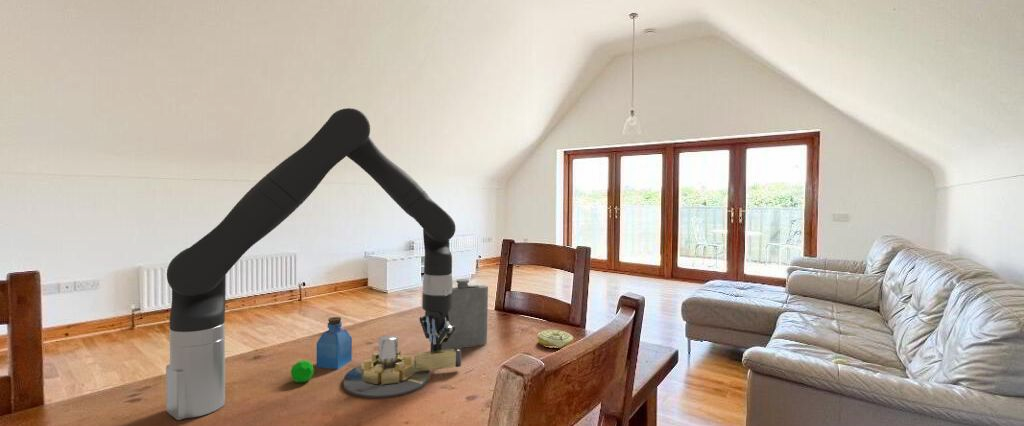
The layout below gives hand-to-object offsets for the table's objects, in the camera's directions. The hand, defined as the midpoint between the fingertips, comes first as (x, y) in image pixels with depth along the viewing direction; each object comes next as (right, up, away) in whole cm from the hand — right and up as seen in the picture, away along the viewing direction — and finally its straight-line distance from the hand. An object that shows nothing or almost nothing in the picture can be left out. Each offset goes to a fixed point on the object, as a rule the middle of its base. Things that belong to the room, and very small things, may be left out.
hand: (435, 356), depth 115 cm
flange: (-10, -3, -7) cm, 13 cm away
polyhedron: (-30, -3, -9) cm, 32 cm away
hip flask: (+5, -3, +18) cm, 18 cm away
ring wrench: (-5, -2, -5) cm, 7 cm away
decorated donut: (+33, -3, +21) cm, 39 cm away
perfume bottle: (-27, -3, +2) cm, 27 cm away
